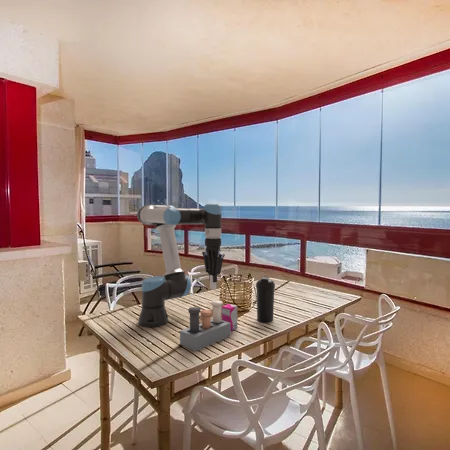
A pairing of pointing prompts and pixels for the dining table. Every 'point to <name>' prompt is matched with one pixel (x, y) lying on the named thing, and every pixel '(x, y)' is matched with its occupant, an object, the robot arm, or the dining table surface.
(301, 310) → the dining table surface
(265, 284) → the water bottle
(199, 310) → the black plug
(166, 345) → the dining table surface
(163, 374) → the dining table surface
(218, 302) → the cream plug
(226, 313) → the supplement box
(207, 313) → the terracotta plug
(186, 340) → the socket block
